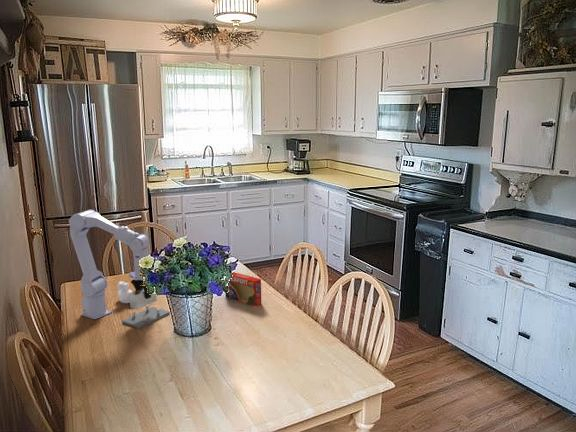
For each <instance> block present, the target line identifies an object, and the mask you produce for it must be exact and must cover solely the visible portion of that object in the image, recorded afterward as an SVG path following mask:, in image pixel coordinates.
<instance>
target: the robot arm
mask: <svg viewBox="0 0 576 432" xmlns="http://www.w3.org/2000/svg"><path fill="white" fill-rule="evenodd" d="M68 224H69V235H70V239H71V242H72V245H73V247H74V250H75V253H76V256H77V260H78V262H79V265H80V269H81V272H82V277H81V279H80V286H81V287H80V291H81V294H82V297H81V306H82V313H80V315H81V316H83V317H87V318H89V319H92V320H97V319H99V318H102V317H104V316H107V315H109V314H112V311H111V310H107V305H106V304H107V301H106V294H105V293H106V288H108V287H107V286H108V281H107V279H106V277H105V276H104V275H103V272H102V271H100V270H98V269H97V265H96V262H95V259H94V256H93V252H92V250H91V247H90V243H89V241H88V240H89V239H88V238H87V234H88V232H89V230H90V229H91V228H94V227H95V228H96V227H97V228H99V229H102V230H104V231H106V232H108V233H111V234H112V235H114V239H116V240H117V241H120V242H121V243H123V244H125V245H127V246H129V249H130V250H131V251H132V255H133V266H134V267H133V268H134V271H131V272H129V273H128V277H129V278H130V279H132V278H133V279H132V280H131V281H130V283H131V285H132V286H133V288H134V289H135V290H134V291H136V290H138V289H141V288H143V289H144V293H145V298H146V299H148V298H151V295H149V294H148V293H147V288H146V286H140V285H141V284H142V283H143V280H144V279H143V278H142V277H141V276H140V271H139V267H138V263H139V260H140V259H141V258H143V257H146V256H149V246H150V244H151V240H150V237H149V236H148V235H146V234H145V233H139V232H135V231H133V230H132V229H130V228H129V227H128V226H127V225H126V226H124V225H122V226H118V225H117V224H115V223H113V222H111V221H110V220H108V219H107V218H105V217H104V216H101V214H100V212H99V211H98V212H97V211H95V210H94V209H87V210H83V211H81V212H78V213H74V214H73V215H72V216H71V217H70V218H69V219H68Z"/></svg>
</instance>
